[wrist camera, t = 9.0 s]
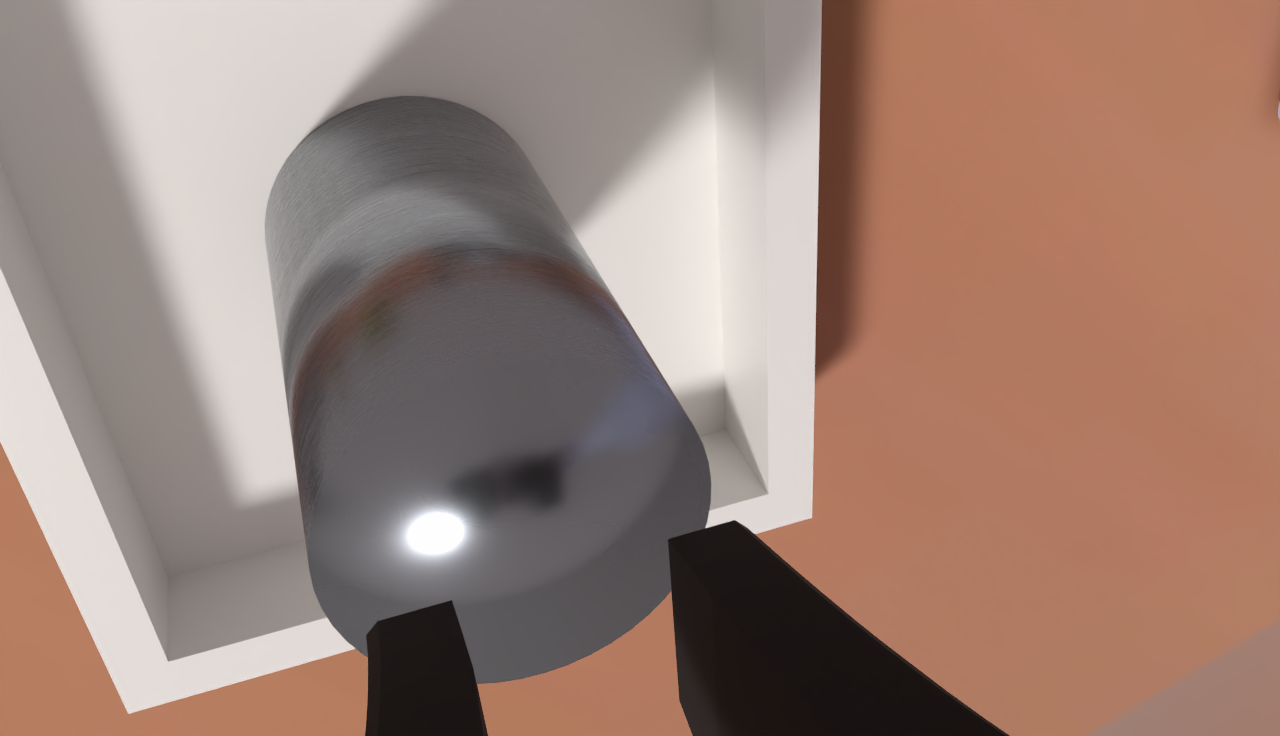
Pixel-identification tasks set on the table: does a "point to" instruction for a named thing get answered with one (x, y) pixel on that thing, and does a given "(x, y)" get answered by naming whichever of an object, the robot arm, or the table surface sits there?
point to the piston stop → (468, 395)
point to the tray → (241, 287)
